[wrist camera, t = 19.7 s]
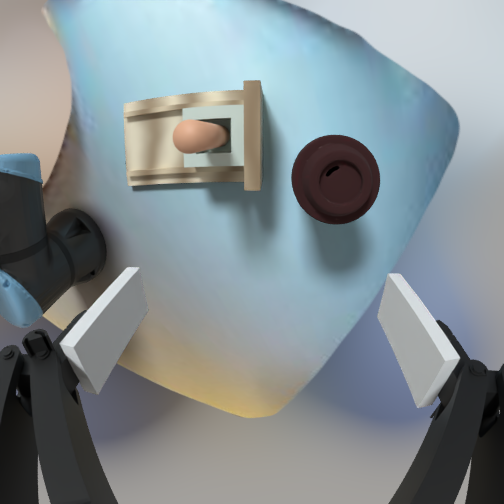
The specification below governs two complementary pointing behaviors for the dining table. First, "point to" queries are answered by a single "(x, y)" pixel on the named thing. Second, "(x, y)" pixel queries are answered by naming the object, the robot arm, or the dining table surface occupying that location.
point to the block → (235, 147)
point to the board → (172, 160)
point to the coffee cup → (335, 179)
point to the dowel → (199, 136)
